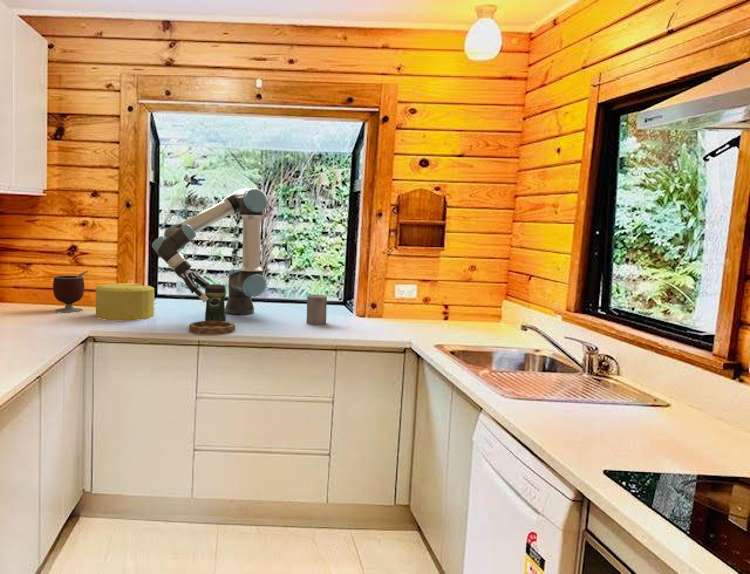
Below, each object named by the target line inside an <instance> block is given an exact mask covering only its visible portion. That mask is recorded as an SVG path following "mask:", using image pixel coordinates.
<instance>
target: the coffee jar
mask: <svg viewBox="0 0 750 574" xmlns="http://www.w3.org/2000/svg"><path fill="white" fill-rule="evenodd" d="M204 294H205V295H206V296H207V297H208V298H209V299H208V300H207V301H206V302H205V312H204V313H205V314H204V321H226V322H227V320H226V319H227V318H226V317H227V316H226V313H225V307H226V304H225V299H226V296H227V290H226V285H225V284H217V283H216V284H209V285H207V286H206V289H205V290H204Z"/></svg>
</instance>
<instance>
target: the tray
mask: <svg viewBox="0 0 750 574" xmlns="http://www.w3.org/2000/svg"><path fill="white" fill-rule="evenodd" d="M189 330H190V332H191V333H192V332H193V333H194V334H198V335H225V334H231V333H233V332H235V331H236V324H235V323H234V322H231V321H227V320H226V321H205V320H201V321H194V322H191V323H188V331H189ZM234 330H235V331H234Z"/></svg>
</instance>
